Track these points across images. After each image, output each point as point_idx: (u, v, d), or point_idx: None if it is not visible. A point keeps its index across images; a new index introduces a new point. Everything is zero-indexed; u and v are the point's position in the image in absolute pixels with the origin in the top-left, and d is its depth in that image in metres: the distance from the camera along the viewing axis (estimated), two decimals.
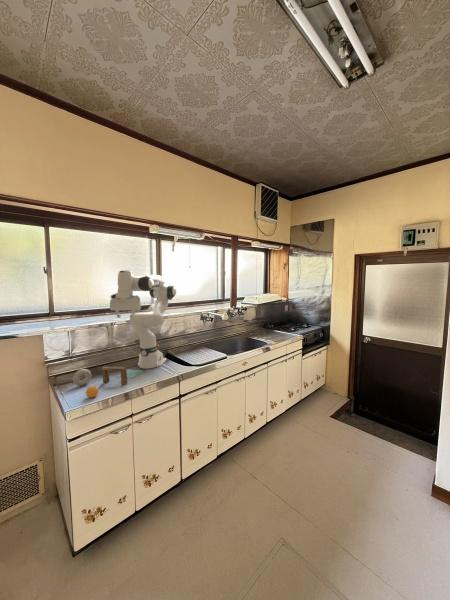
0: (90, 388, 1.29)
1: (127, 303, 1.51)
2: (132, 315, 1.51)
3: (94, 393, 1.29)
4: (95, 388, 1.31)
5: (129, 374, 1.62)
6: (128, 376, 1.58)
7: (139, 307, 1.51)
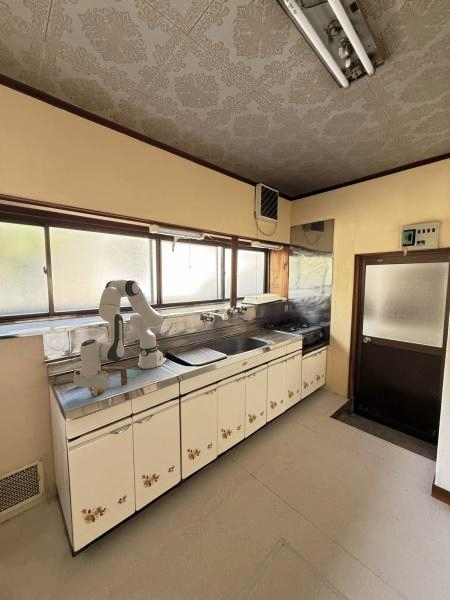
0: None
1: (94, 380, 1.29)
2: (95, 393, 1.31)
3: None
4: None
5: (129, 374, 1.62)
6: (128, 376, 1.58)
7: (108, 384, 1.29)
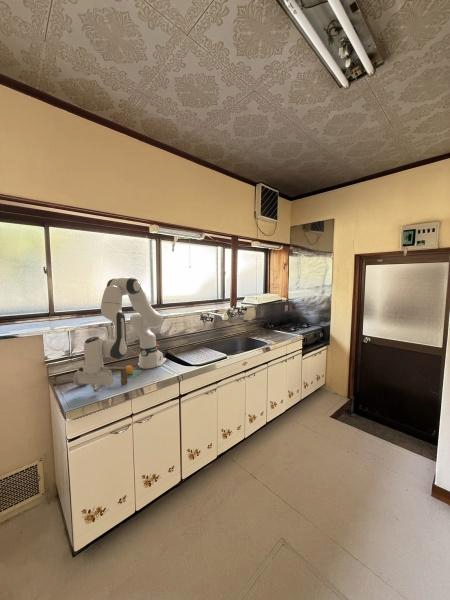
0: (128, 374, 1.61)
1: (97, 377, 1.31)
2: (98, 389, 1.33)
3: None
4: (130, 372, 1.60)
5: None
6: (128, 376, 1.58)
7: (111, 381, 1.31)
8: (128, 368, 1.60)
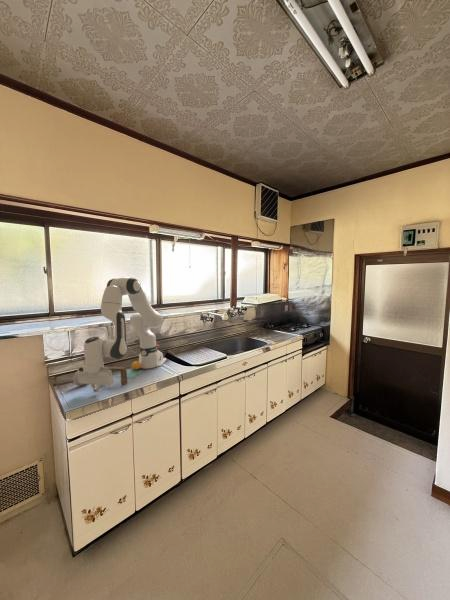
0: (136, 361, 1.71)
1: (97, 377, 1.31)
2: (98, 389, 1.33)
3: (138, 364, 1.69)
4: (139, 362, 1.71)
5: (129, 374, 1.62)
6: (128, 376, 1.58)
7: (111, 381, 1.31)
8: None
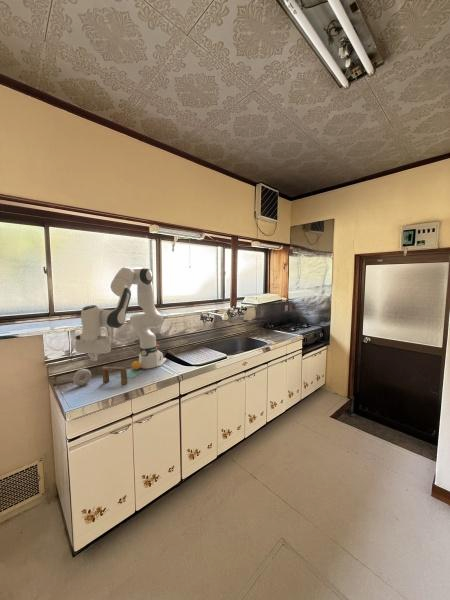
0: (136, 361, 1.71)
1: (94, 345, 1.30)
2: (95, 358, 1.32)
3: (138, 364, 1.69)
4: (139, 362, 1.71)
5: (129, 374, 1.62)
6: (128, 376, 1.58)
7: (109, 349, 1.30)
8: None
